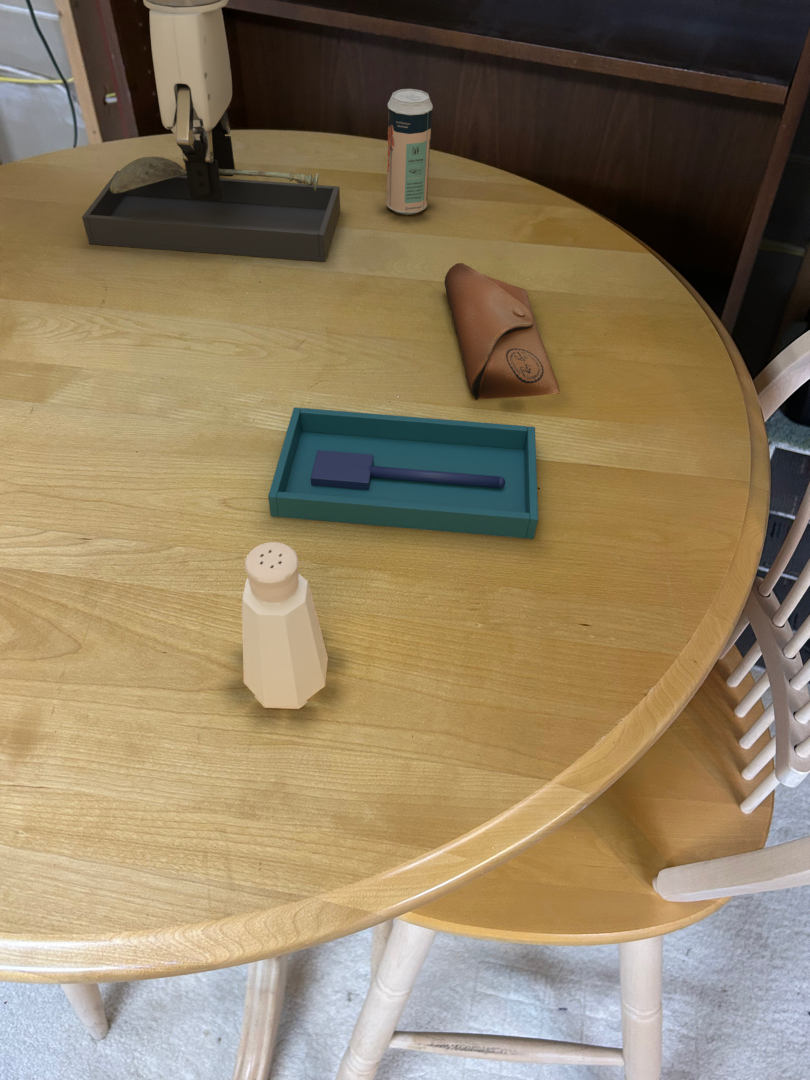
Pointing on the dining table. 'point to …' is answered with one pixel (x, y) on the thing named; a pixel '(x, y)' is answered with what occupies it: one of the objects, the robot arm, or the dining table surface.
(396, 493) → the teal tray
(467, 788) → the dining table surface
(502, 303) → the sunglasses case
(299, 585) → the pepper shaker
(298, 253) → the grey tray
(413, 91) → the beer can
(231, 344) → the dining table surface
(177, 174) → the soupspoon
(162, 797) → the dining table surface
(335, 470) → the navy spatula
